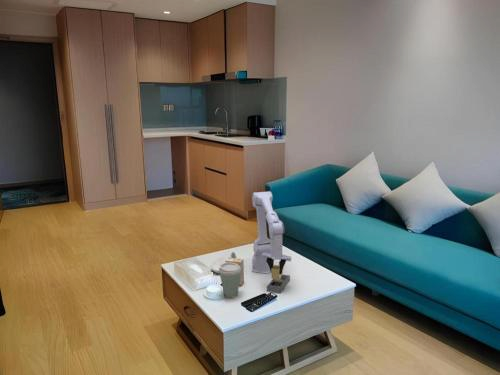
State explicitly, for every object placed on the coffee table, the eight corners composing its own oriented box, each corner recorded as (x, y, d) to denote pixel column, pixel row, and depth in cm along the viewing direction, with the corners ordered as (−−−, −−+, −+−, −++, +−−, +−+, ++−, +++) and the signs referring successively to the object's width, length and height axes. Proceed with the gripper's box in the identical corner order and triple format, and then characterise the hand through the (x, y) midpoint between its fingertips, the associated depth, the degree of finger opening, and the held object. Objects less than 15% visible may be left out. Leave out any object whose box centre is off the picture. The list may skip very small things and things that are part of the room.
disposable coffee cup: (244, 290, 189) (243, 262, 186) (238, 301, 179) (237, 271, 176) (223, 288, 191) (222, 260, 188) (216, 299, 181) (215, 269, 178)
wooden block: (271, 278, 189) (271, 267, 187) (274, 275, 192) (273, 264, 191) (279, 280, 187) (279, 268, 186) (281, 276, 191) (281, 265, 189)
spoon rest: (227, 277, 205) (227, 264, 203) (207, 274, 208) (206, 262, 207) (242, 260, 227) (241, 249, 225) (223, 258, 230) (223, 247, 229)
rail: (266, 291, 188) (266, 286, 187) (277, 277, 202) (277, 273, 202) (280, 293, 185) (280, 288, 185) (289, 279, 200) (289, 275, 199)
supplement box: (244, 282, 198) (244, 258, 195) (241, 286, 193) (240, 262, 191) (229, 280, 200) (228, 256, 198) (226, 284, 196) (225, 260, 193)
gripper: (259, 247, 185) (259, 274, 188) (288, 251, 180) (288, 278, 183) (264, 242, 192) (264, 268, 195) (292, 246, 186) (292, 272, 189)
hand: (276, 272), depth 189 cm, fingers closed on wooden block, 4 cm apart
